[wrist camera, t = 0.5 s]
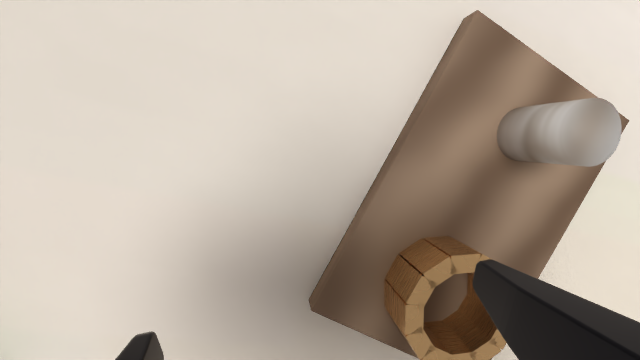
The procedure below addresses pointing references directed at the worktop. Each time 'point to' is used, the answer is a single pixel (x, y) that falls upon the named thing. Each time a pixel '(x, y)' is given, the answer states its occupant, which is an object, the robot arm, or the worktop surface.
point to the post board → (473, 175)
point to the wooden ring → (415, 289)
